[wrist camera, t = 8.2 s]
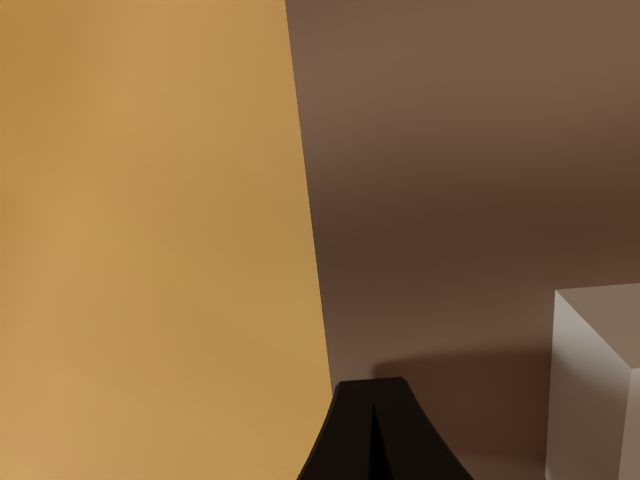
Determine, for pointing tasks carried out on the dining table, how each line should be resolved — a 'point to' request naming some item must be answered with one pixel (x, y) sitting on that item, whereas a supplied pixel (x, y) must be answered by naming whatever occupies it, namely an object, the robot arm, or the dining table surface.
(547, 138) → the board
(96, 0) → the dining table surface
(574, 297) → the beige block
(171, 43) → the dining table surface
